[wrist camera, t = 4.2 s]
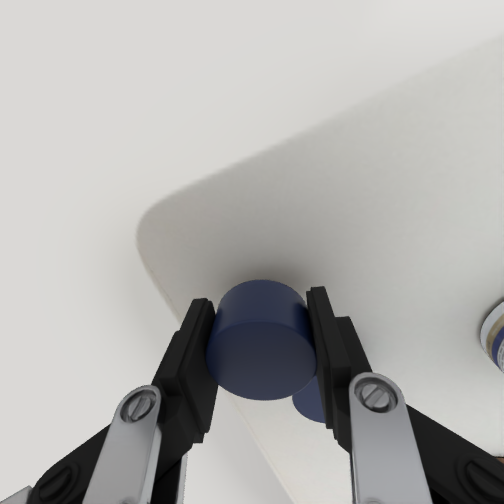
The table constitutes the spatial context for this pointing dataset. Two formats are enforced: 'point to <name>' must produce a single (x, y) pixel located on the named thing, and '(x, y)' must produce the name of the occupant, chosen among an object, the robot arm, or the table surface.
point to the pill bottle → (494, 336)
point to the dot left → (262, 342)
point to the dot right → (310, 402)
